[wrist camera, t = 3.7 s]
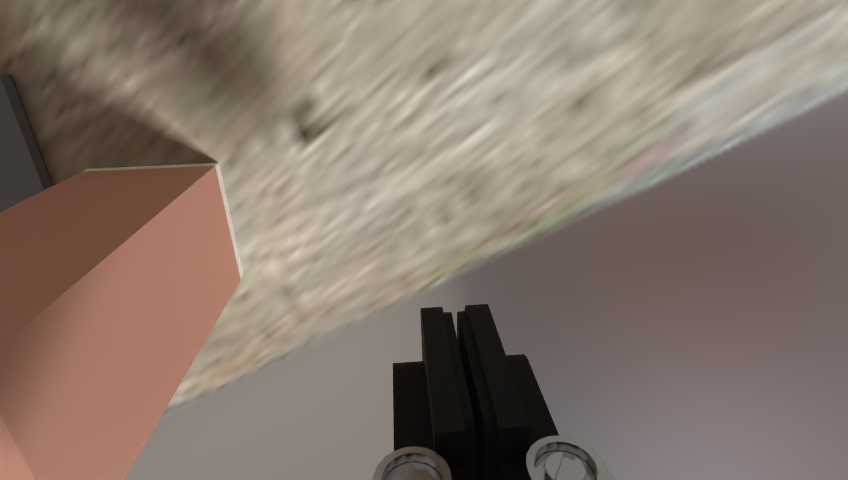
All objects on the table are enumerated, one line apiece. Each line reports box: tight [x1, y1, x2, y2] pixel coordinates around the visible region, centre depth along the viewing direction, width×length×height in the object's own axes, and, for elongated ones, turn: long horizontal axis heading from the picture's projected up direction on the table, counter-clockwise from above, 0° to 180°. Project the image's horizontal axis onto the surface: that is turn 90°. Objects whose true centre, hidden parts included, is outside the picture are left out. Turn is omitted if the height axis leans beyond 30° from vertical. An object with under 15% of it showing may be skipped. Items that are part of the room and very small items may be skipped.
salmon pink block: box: [0, 163, 243, 480], centre depth 14 cm, size 5×5×12 cm
